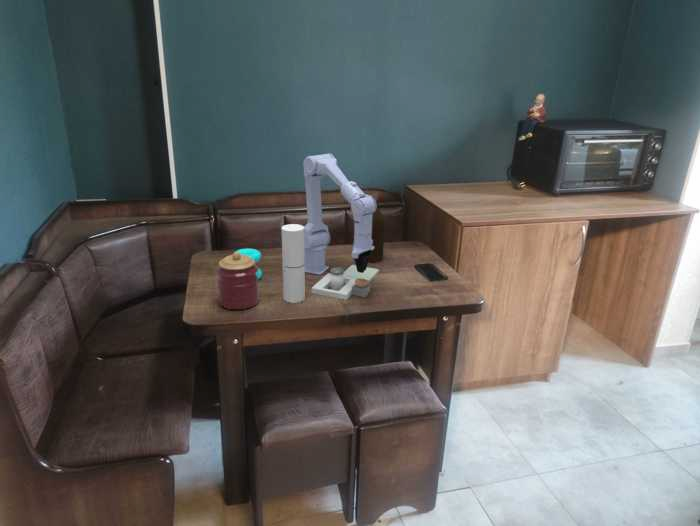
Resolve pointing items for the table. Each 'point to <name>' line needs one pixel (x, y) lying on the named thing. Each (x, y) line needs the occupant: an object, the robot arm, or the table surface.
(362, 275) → the mat
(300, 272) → the cylindrical container
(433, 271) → the phone
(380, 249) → the olive oil
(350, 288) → the housing
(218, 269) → the canister
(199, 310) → the table surface
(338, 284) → the cylinder
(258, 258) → the cyan rounded piece
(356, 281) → the plunger
